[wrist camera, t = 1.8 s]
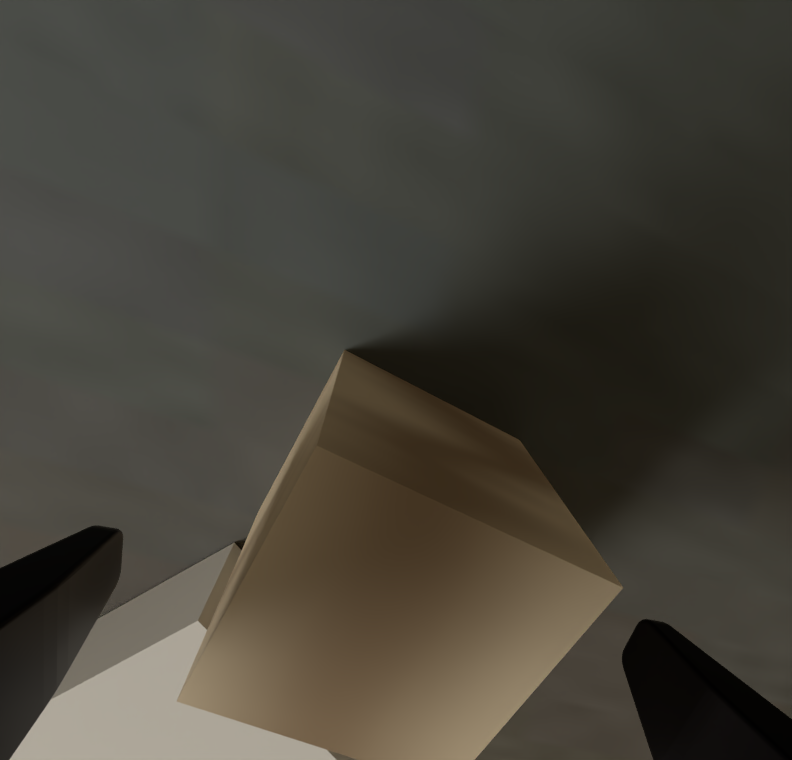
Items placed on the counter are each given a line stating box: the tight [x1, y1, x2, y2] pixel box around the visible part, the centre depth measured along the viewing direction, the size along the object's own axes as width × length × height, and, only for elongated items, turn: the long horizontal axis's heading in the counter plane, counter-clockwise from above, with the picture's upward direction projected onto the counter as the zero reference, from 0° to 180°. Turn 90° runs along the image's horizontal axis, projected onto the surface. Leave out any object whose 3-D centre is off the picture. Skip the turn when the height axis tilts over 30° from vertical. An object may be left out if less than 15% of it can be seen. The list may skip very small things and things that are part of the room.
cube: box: [177, 350, 623, 760], centre depth 9 cm, size 5×5×5 cm
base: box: [10, 543, 357, 760], centre depth 12 cm, size 9×9×2 cm
